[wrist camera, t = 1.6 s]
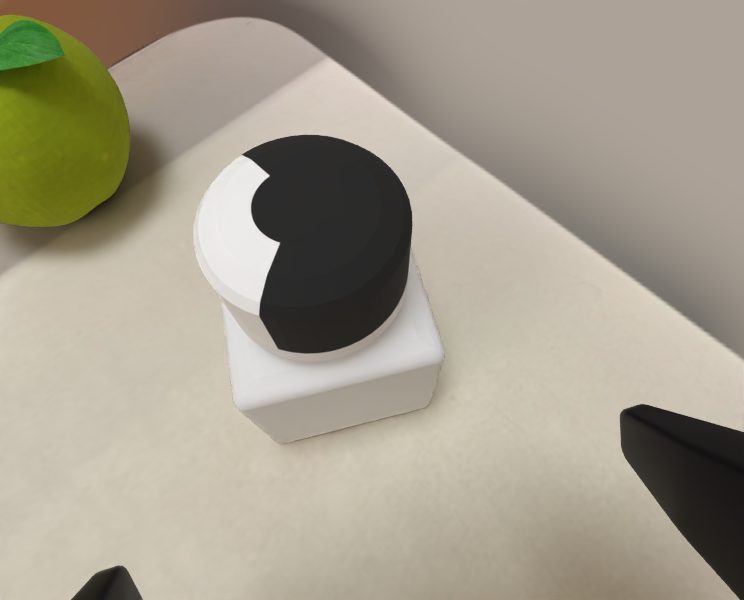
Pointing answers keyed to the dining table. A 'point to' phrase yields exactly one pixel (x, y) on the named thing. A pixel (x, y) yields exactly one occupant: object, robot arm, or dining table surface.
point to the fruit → (56, 126)
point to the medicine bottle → (317, 287)
